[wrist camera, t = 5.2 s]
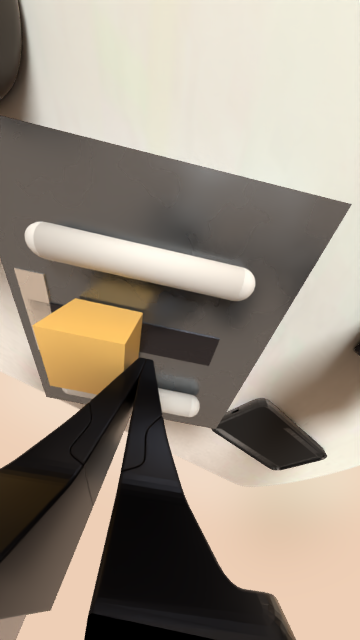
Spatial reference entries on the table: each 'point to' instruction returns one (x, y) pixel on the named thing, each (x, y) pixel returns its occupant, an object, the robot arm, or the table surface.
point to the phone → (269, 436)
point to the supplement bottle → (9, 44)
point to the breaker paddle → (88, 344)
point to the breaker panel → (166, 233)
